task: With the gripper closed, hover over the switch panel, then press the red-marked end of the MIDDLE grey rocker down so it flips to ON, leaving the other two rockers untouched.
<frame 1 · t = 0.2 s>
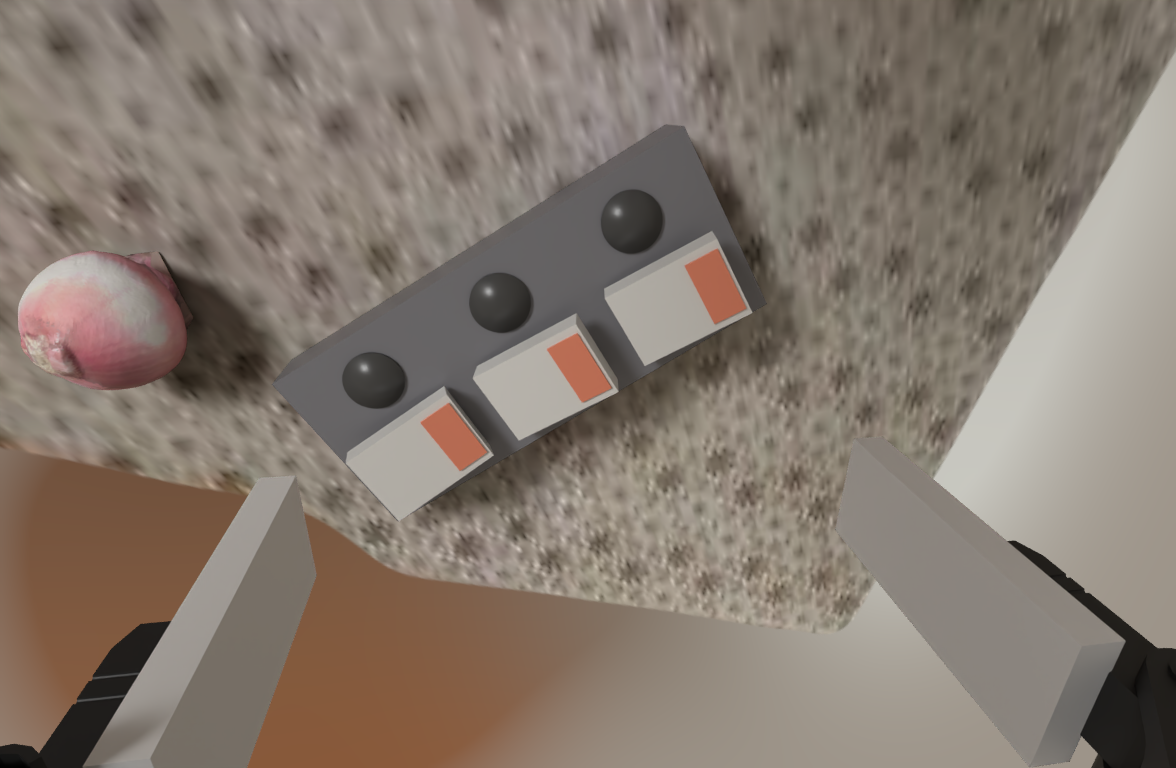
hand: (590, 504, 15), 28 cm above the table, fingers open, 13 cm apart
rocker 3: (677, 301, 37), point 6 cm above the table, hinge at 10.0°
switch panel: (524, 322, 42), on the table
rocker 1: (421, 454, 39), point 6 cm above the table, hinge at -10.0°
rocker 2: (546, 379, 38), point 6 cm above the table, hinge at 10.0°
onion: (140, 304, 39), on the table
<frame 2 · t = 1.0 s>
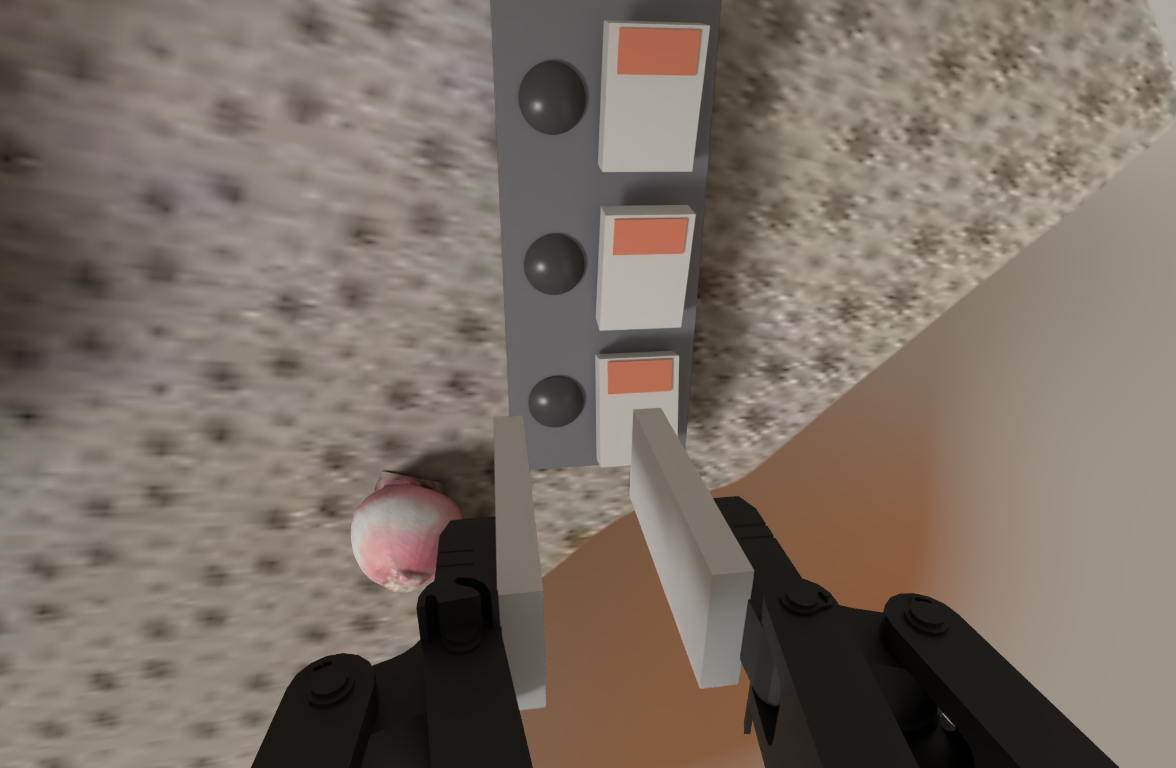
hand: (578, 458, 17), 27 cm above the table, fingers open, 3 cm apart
rocker 3: (650, 99, 33), point 6 cm above the table, hinge at 10.0°
switch panel: (593, 249, 42), on the table
rocker 1: (636, 409, 40), point 6 cm above the table, hinge at -10.0°
rocker 2: (642, 269, 37), point 6 cm above the table, hinge at 10.0°
onion: (413, 504, 48), on the table
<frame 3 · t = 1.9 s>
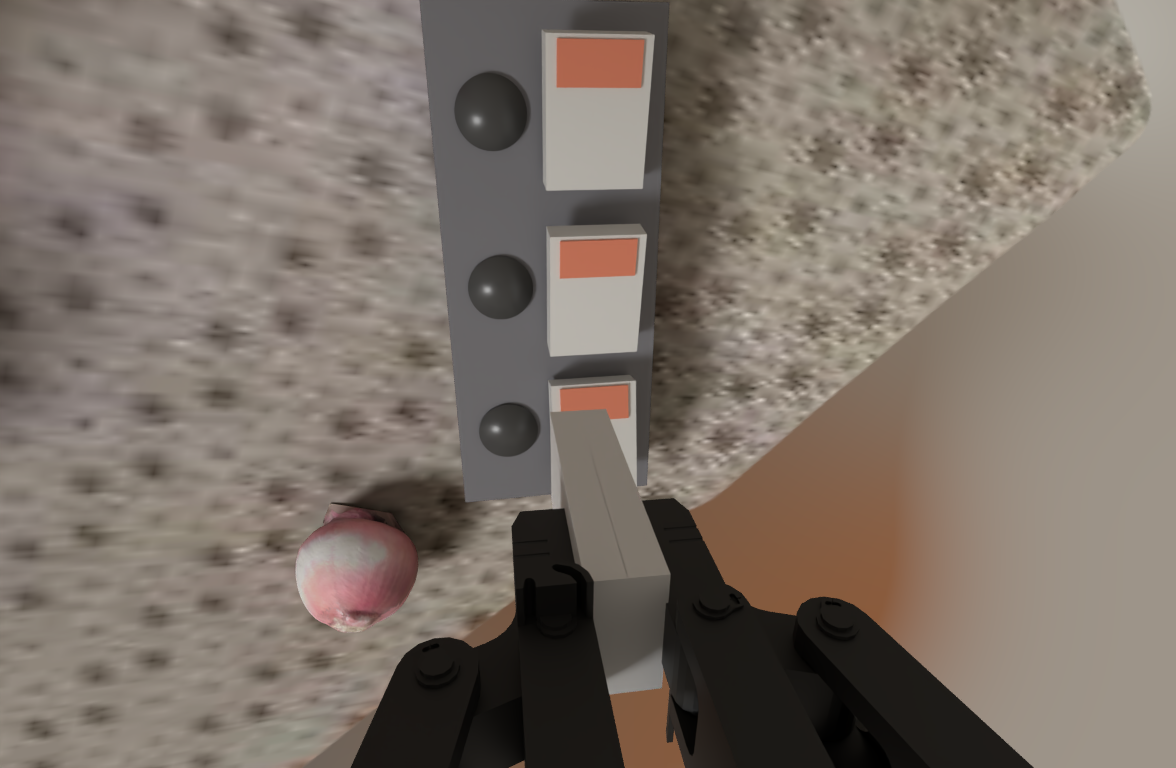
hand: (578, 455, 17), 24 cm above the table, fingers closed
rocker 3: (595, 113, 31), point 6 cm above the table, hinge at 10.0°
switch panel: (546, 268, 40), on the table
rocker 1: (593, 436, 38), point 6 cm above the table, hinge at -10.0°
rocker 2: (594, 292, 35), point 6 cm above the table, hinge at 10.0°
onion: (365, 536, 45), on the table
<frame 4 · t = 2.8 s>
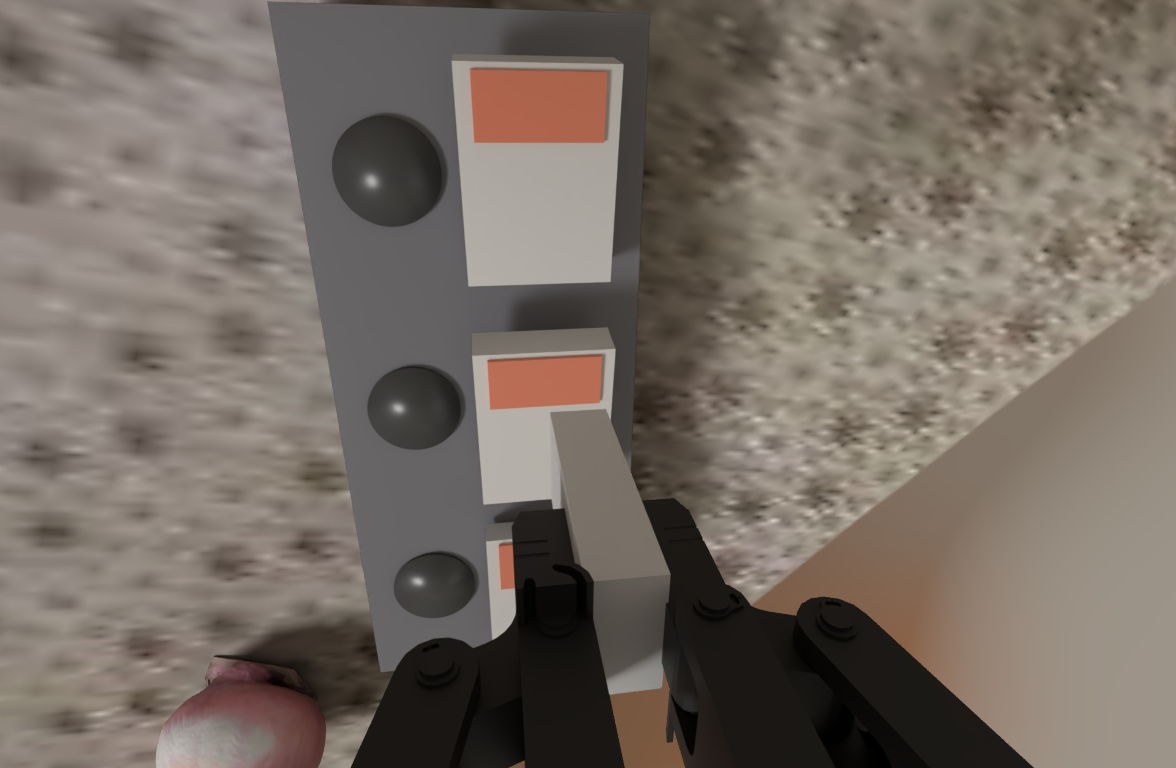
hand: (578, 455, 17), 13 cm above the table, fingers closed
rocker 3: (538, 177, 21), point 6 cm above the table, hinge at 10.0°
switch panel: (488, 366, 29), on the table
rocker 1: (547, 600, 28), point 6 cm above the table, hinge at -10.0°
rocker 2: (543, 420, 25), point 6 cm above the table, hinge at 10.0°
onion: (263, 692, 35), on the table
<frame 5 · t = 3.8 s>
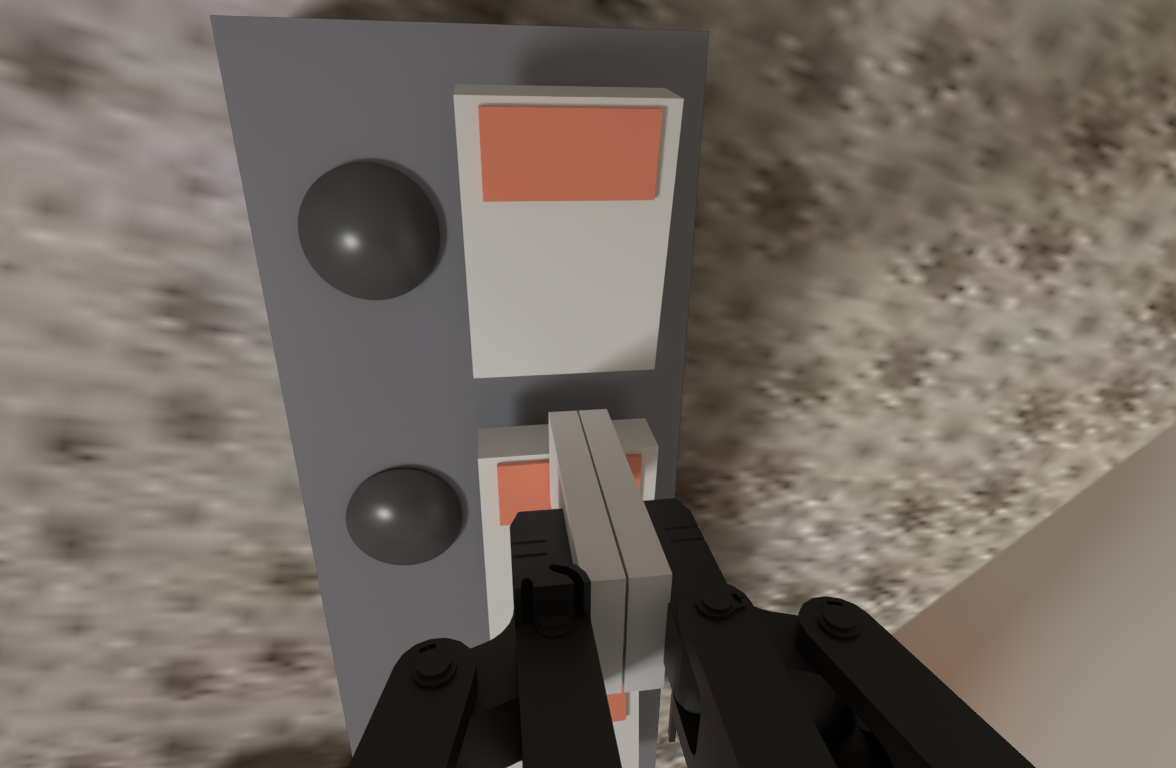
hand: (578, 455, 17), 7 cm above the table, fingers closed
rocker 3: (564, 241, 16), point 6 cm above the table, hinge at 10.0°
switch panel: (496, 450, 25), on the table
rocker 1: (567, 740, 23), point 6 cm above the table, hinge at -10.0°
rocker 2: (566, 535, 20), point 6 cm above the table, hinge at 4.0°, touching gripper
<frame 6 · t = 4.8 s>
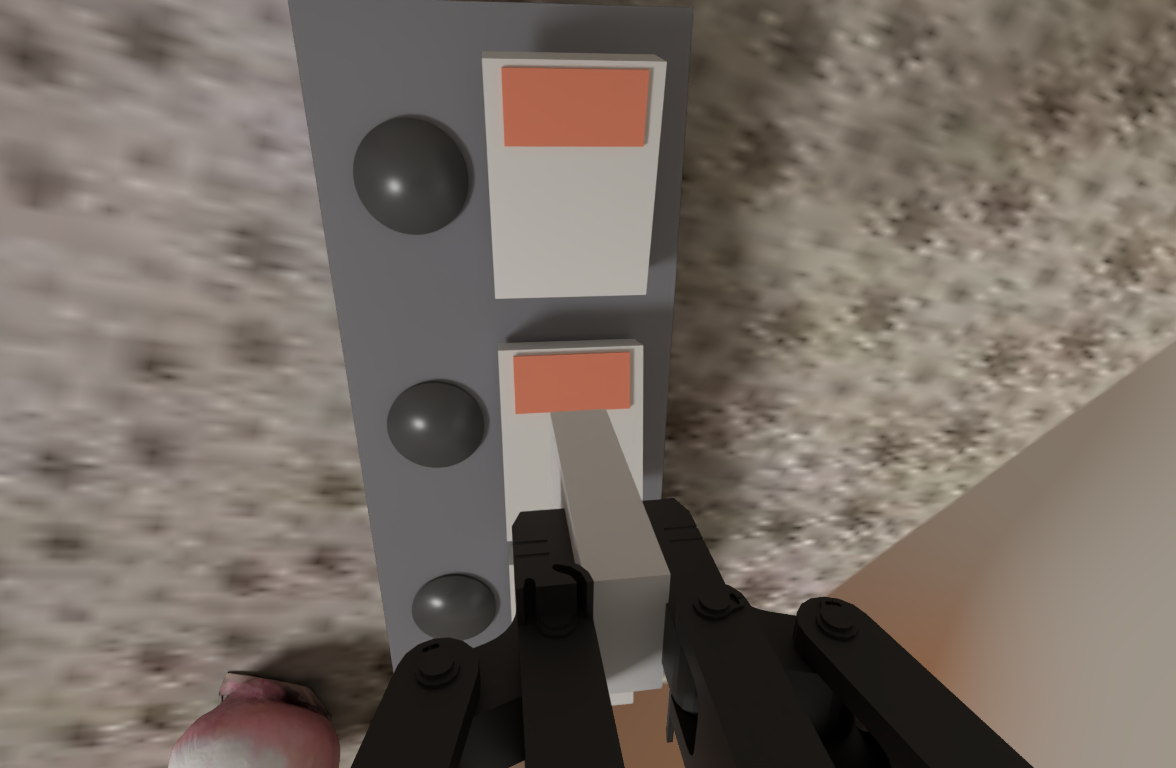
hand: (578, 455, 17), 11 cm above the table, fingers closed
rocker 3: (571, 183, 20), point 6 cm above the table, hinge at 10.0°
switch panel: (513, 379, 28), on the table
rocker 1: (572, 626, 27), point 6 cm above the table, hinge at -10.0°
rocker 2: (571, 439, 23), point 6 cm above the table, hinge at -11.0°
onion: (277, 708, 34), on the table
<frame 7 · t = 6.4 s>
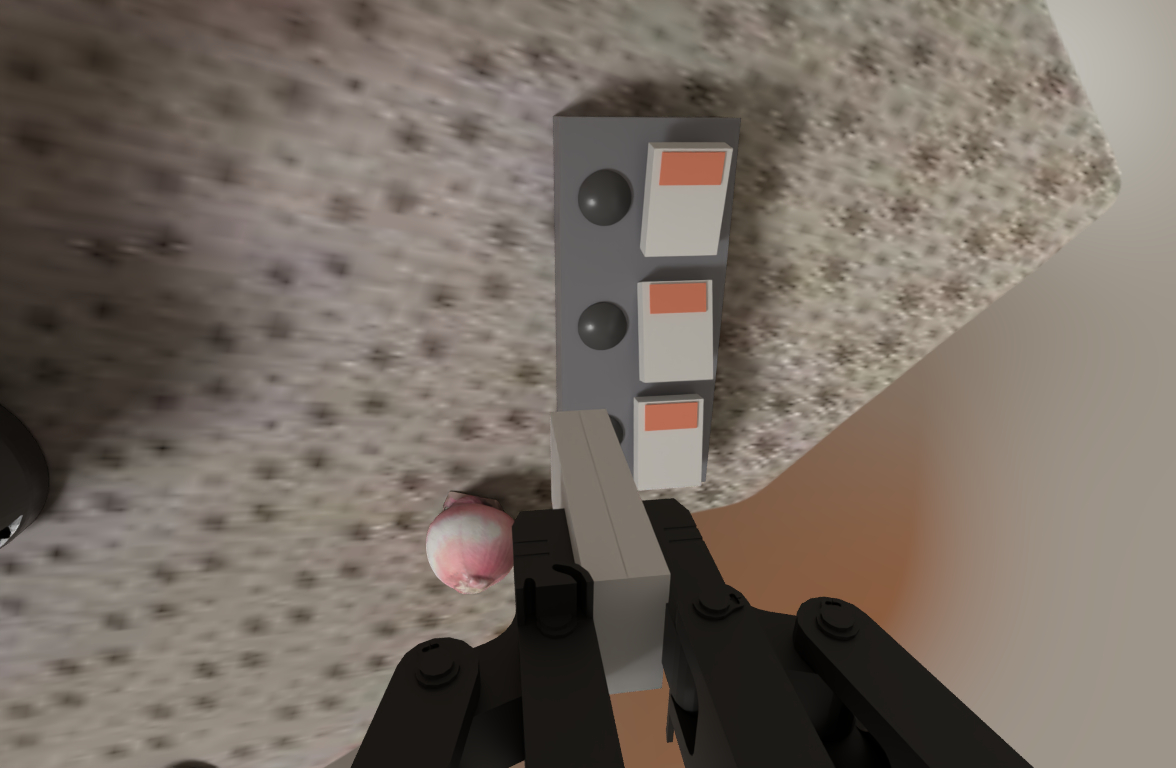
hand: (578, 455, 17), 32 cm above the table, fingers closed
rocker 3: (684, 201, 41), point 6 cm above the table, hinge at 10.0°
switch panel: (631, 308, 50), on the table
rocker 1: (667, 442, 49), point 6 cm above the table, hinge at -10.0°
rocker 2: (675, 331, 45), point 6 cm above the table, hinge at -16.9°, touching switch panel
onion: (474, 519, 56), on the table
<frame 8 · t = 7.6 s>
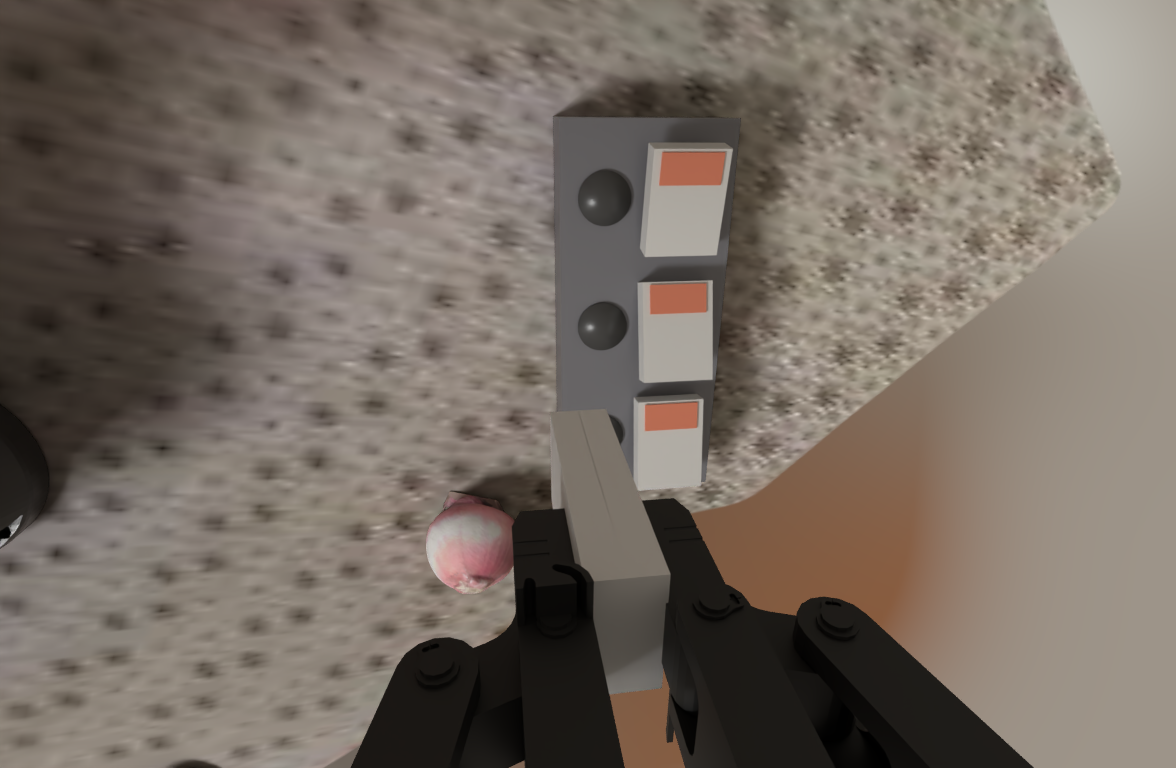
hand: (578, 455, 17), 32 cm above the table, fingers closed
rocker 3: (684, 201, 41), point 6 cm above the table, hinge at 10.0°
switch panel: (631, 308, 50), on the table
rocker 1: (667, 442, 49), point 6 cm above the table, hinge at -10.0°
rocker 2: (675, 331, 45), point 6 cm above the table, hinge at -15.2°
onion: (474, 519, 56), on the table
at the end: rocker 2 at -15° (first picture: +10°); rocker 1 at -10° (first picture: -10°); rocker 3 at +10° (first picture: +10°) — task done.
